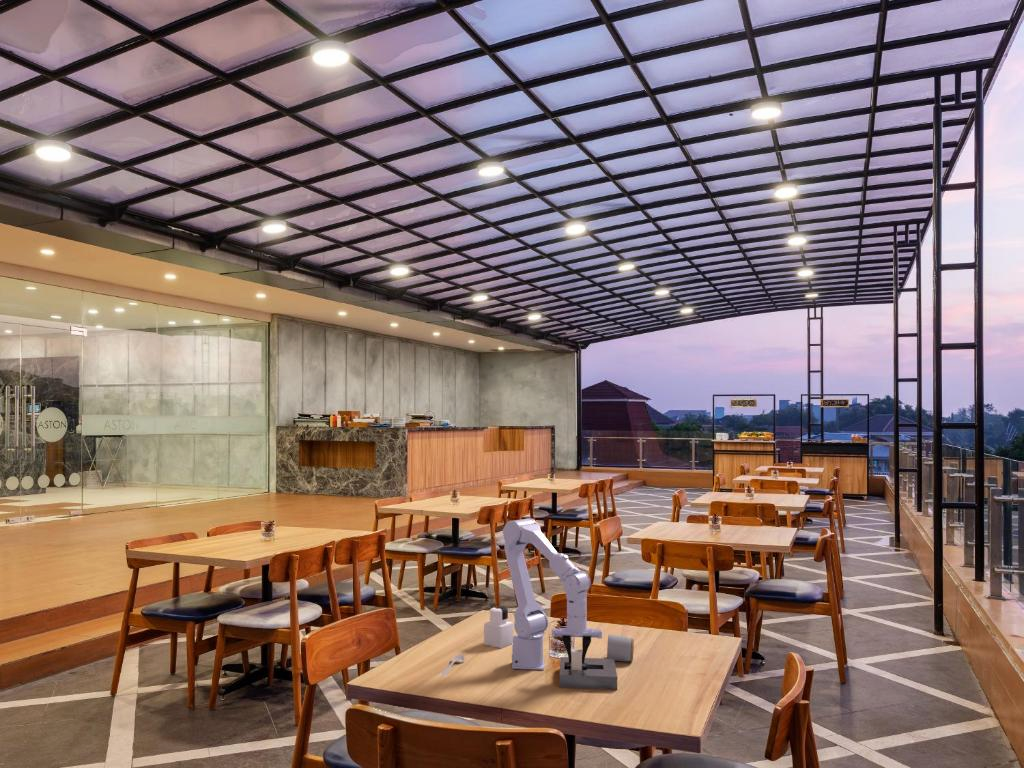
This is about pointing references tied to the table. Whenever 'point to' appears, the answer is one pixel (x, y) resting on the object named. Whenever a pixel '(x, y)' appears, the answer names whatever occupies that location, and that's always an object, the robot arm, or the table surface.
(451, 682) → the table surface
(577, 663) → the peg
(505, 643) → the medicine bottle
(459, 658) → the spoon
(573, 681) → the keyhole plate
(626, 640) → the ceramic mug
